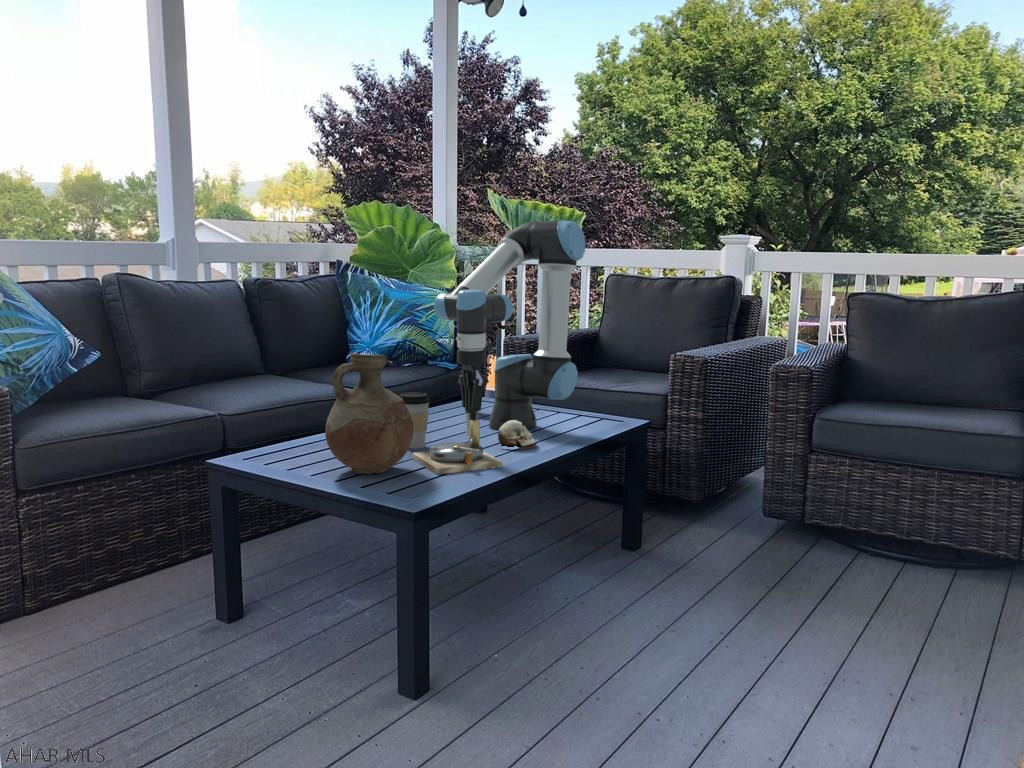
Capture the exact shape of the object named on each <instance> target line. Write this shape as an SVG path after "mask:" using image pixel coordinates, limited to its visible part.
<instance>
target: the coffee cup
mask: <svg viewBox="0 0 1024 768" xmlns="http://www.w3.org/2000/svg"><path fill="white" fill-rule="evenodd" d="M398 396H399V397H400V398H402V399H403V402H404V404H405V405H406V407H407V408H408V410H409V413H410V415H411V418H412V421H413V427H414V431H413V439H412V442H411V444H410V447H409V449H414V450H415V449H416V450H417V449H422V448H424V447H425V446H426V435H427V430H428V421H429V405H430V403H431V400H430V397H429V396H428V394H427V393H426V392H417V391H416V392H415V391H412V392H410V391H409V392H402V393H400V394H399V395H398Z"/></svg>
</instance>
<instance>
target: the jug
mask: <svg viewBox="0 0 1024 768" xmlns="http://www.w3.org/2000/svg"><path fill="white" fill-rule="evenodd" d="M388 361H389V360H388V359H387V357H386V355H384V354H361V353H355V352H351V353H350V362H348V363H342V364H341V365H339V366H337V368H336V369H335V370H334V373H333V375H332V387H333V392H334V394H335V396H336V400H335V402H334V404H333V406H332V408H331V410H330V411H329V414H328V415H327V419H326V423H325V432H324V433H325V435H324V436H325V439H326V444H327V446H328V448H329V450H330V452H331V453H332V455H333V456H334V457H335V458H336V460H338V461H339V462H340V463H341V464H342V465H344V466H345V467H348V468H350V469H351V473H354V474H364V475H365V474H366V475H372V474H375V473H377V474H381V473H385V471H389V470H390V468H391V467H393V466H395V465H396V464H397V463H398V462H400V461H401V460H402V458H404V457H405V455H406V454H407V452H408V451H409V449H410V448H409V447H410V444H411V442H412V439H413V431H414V427H413V421H412V418H411V415H410V413H409V410H408V408H407V407H406V405H405V404H404V402H403V399H402V398H400V397H399V395H397V394H396V393H394V391H393V392H392V391H391V390H389V389H387V388H386V387H384V385H383V382H382V378H381V375H382V374H381V373H382V371H383V369H384V367H385V366H386V364H387V363H388ZM351 372H357V373H358V374H359V378H358V379H359V380H358V383H357V385H356V386H355V387H354V388H352V389H350V390H347V389H345V387H344V385H343V384H344V383H343V378H344V377H345V375H346V374H347V373H348V374H349V373H351Z"/></svg>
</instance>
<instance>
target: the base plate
mask: <svg viewBox="0 0 1024 768" xmlns="http://www.w3.org/2000/svg"><path fill="white" fill-rule="evenodd" d="M411 455H412V459H413V460H414V461H416V462H418V463H419V464H420V465H422V466H424V467H425V468H427V469H428V470H429V471H431V472H432V473H434V474H435V475H444V474H445V475H446V474H453V473H462V471H463V472H468V471H467V470H472V471H477V470H476V469H481V470H485V469H484V468H489V469H493V468H492V467H498V466H502V467H503V461H502V460H500V459H498V458H496V457H495V456H493V455H491V454H489V453H487V452H486V451H483V457H482V458H481V459H479V460H476V461H472V453H471V452H466V462H460V463H452V462H441V461H436V460H433V459H431V458H430V450H428V451H418V452H417V451H416V452H412V454H411ZM498 468H499V467H498Z"/></svg>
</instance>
